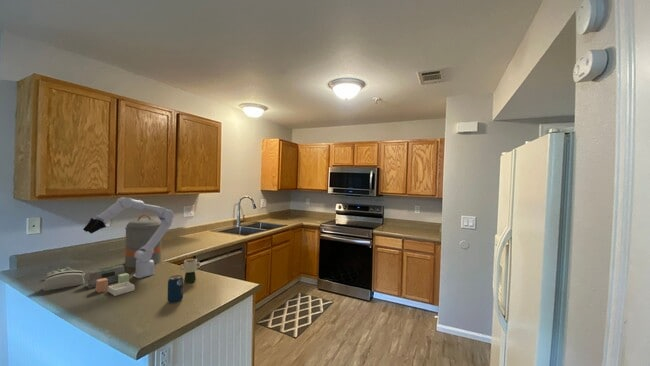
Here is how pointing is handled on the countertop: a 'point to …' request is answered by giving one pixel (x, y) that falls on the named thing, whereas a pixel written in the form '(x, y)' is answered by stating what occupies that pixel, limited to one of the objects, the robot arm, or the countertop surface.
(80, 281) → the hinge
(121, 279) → the sage green block
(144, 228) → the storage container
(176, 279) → the soda can
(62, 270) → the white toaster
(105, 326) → the countertop surface
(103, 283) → the terracotta block
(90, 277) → the grey unit
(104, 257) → the countertop surface
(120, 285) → the off-white tray
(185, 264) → the character mug
